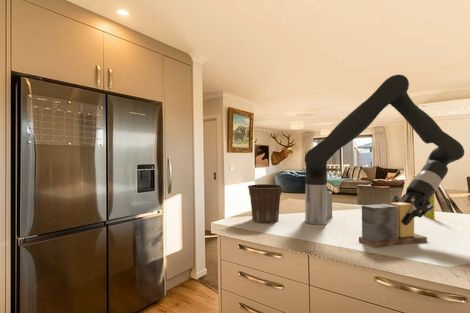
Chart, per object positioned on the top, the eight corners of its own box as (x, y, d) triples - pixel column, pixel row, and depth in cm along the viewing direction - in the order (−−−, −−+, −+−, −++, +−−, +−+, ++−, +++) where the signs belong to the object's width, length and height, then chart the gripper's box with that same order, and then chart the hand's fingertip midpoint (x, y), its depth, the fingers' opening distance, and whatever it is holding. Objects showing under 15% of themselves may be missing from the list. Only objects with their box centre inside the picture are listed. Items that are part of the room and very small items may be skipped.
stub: (400, 237, 87) (400, 204, 87) (390, 234, 91) (390, 203, 91) (414, 235, 89) (413, 203, 89) (403, 232, 93) (403, 202, 93)
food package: (435, 219, 119) (435, 176, 119) (433, 219, 119) (432, 176, 120) (419, 212, 134) (418, 174, 134) (416, 212, 134) (416, 174, 135)
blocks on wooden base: (374, 247, 82) (374, 208, 82) (358, 241, 89) (358, 205, 89) (426, 241, 88) (426, 204, 88) (408, 235, 95) (407, 201, 95)
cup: (335, 217, 125) (335, 192, 125) (317, 218, 124) (317, 193, 124) (327, 213, 134) (327, 190, 134) (310, 214, 133) (310, 191, 133)
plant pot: (276, 226, 109) (275, 188, 110) (242, 222, 117) (241, 186, 117) (287, 218, 124) (286, 185, 124) (256, 215, 131) (256, 183, 132)
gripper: (400, 177, 99) (375, 210, 95) (438, 180, 85) (410, 219, 82) (411, 190, 100) (386, 224, 97) (450, 195, 87) (423, 234, 83)
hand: (397, 221), depth 89 cm, fingers closed on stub, 4 cm apart
